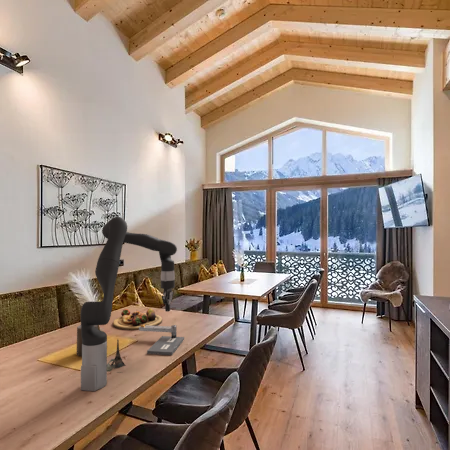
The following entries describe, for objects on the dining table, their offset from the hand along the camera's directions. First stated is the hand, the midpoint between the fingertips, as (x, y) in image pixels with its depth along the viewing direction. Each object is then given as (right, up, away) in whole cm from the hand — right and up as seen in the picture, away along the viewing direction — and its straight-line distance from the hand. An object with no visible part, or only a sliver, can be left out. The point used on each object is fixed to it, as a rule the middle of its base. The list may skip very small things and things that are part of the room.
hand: (167, 311), depth 168 cm
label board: (0, -18, -3) cm, 18 cm away
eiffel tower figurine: (-19, -19, -26) cm, 37 cm away
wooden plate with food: (-28, -20, +40) cm, 53 cm away
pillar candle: (-39, -18, -11) cm, 44 cm away
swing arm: (-7, -17, +8) cm, 20 cm away
